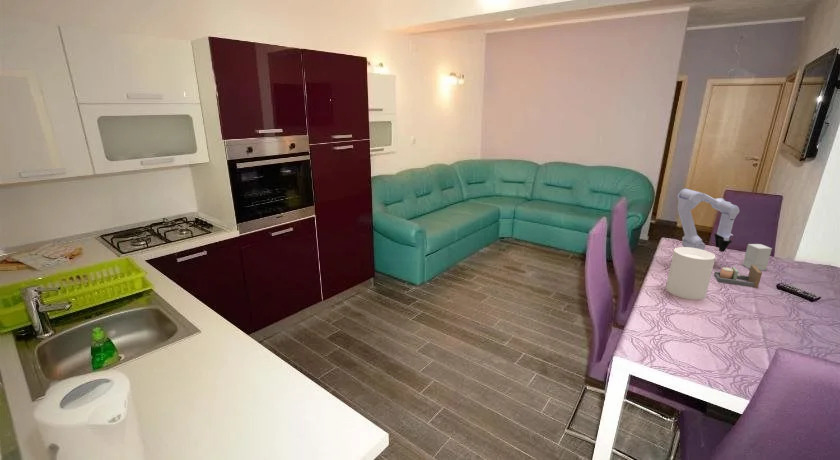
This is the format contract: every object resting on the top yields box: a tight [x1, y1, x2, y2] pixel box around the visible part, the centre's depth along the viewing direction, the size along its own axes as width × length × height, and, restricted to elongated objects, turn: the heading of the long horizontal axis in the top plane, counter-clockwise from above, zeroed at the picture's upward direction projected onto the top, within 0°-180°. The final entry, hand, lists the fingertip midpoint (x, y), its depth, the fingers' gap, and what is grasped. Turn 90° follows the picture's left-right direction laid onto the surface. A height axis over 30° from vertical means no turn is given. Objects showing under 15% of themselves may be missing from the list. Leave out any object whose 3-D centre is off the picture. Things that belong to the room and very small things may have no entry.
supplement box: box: [742, 243, 773, 271], centre depth 208 cm, size 7×7×13 cm
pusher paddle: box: [732, 266, 742, 280], centre depth 193 cm, size 3×6×6 cm, turn 155°
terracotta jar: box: [719, 266, 734, 279], centre depth 195 cm, size 5×5×6 cm
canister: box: [665, 246, 716, 301], centre depth 180 cm, size 16×16×20 cm
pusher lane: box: [713, 265, 763, 289], centre depth 193 cm, size 16×10×8 cm, turn 65°
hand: (719, 249), depth 211 cm, fingers open, 7 cm apart
